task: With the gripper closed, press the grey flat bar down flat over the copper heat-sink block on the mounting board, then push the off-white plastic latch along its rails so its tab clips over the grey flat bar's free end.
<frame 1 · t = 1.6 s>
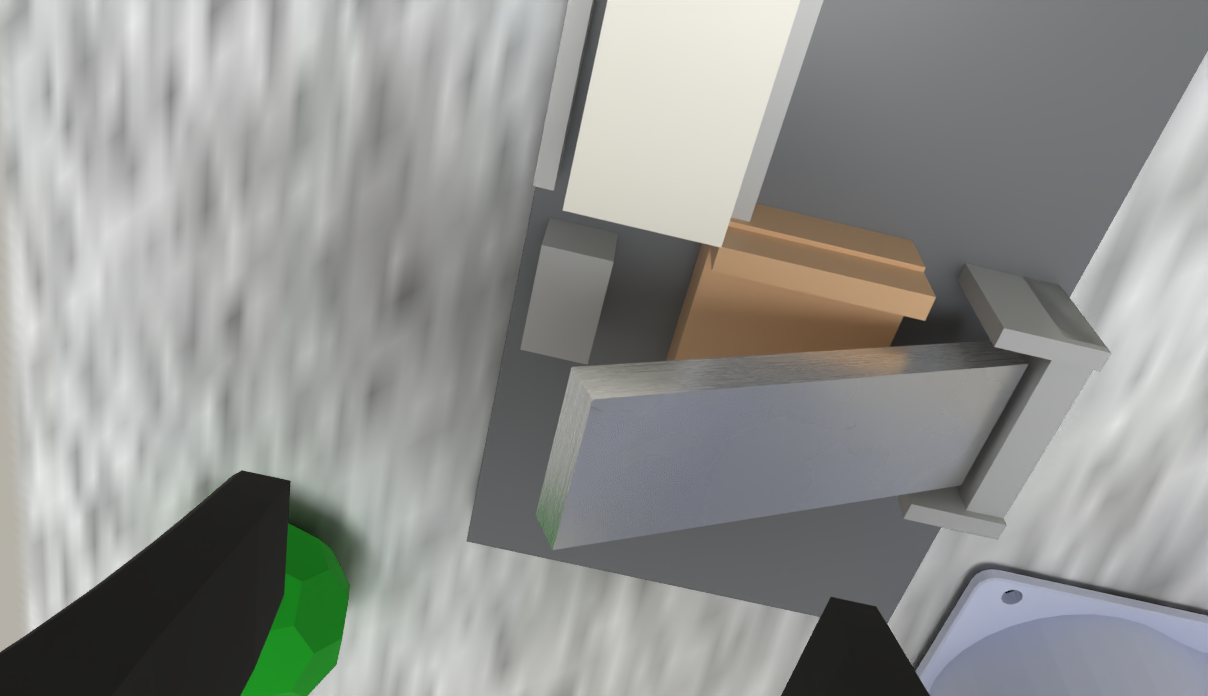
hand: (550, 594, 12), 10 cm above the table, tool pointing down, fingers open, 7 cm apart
grey flat bar: (796, 435, 16), point 5 cm above the table, hinge at 28.0°
latch: (686, 33, 15), point 3 cm above the table, slide at 0.0 cm
polyhedron: (286, 544, 26), on the table
mount board: (785, 257, 20), on the table
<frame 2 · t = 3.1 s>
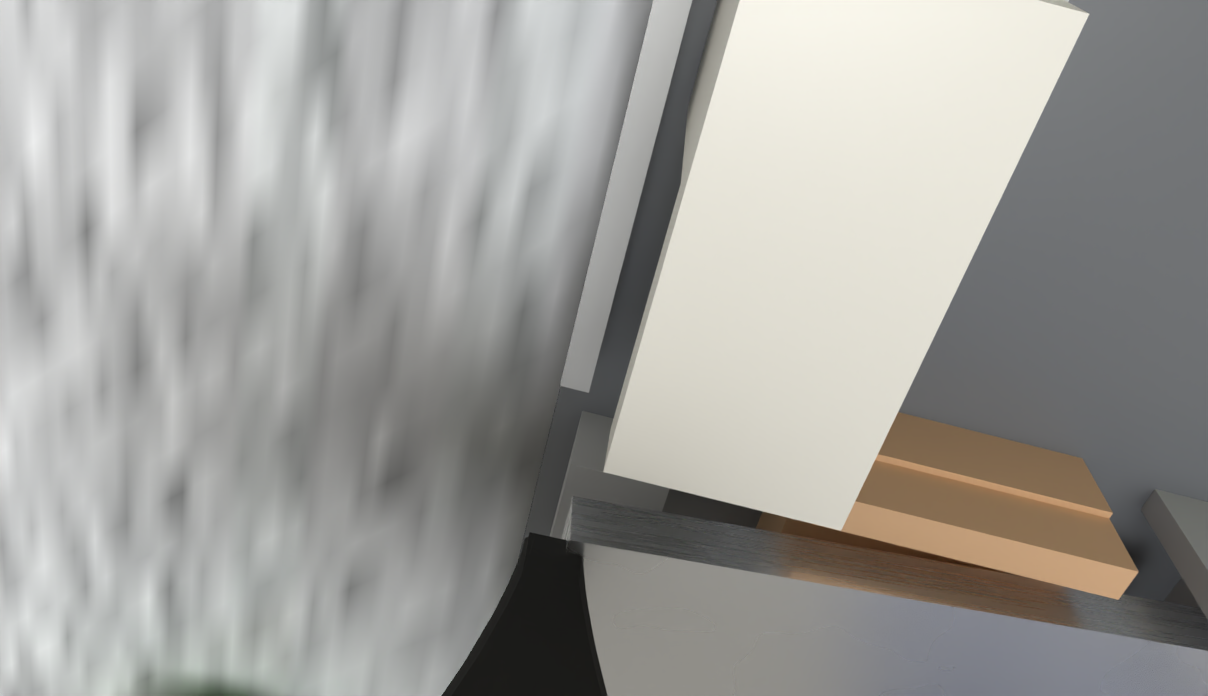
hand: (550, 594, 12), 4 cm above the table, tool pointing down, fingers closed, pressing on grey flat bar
grey flat bar: (874, 656, 13), point 3 cm above the table, hinge at 5.7°, touching gripper
latch: (793, 208, 10), point 3 cm above the table, slide at 0.0 cm
mount board: (894, 455, 15), on the table
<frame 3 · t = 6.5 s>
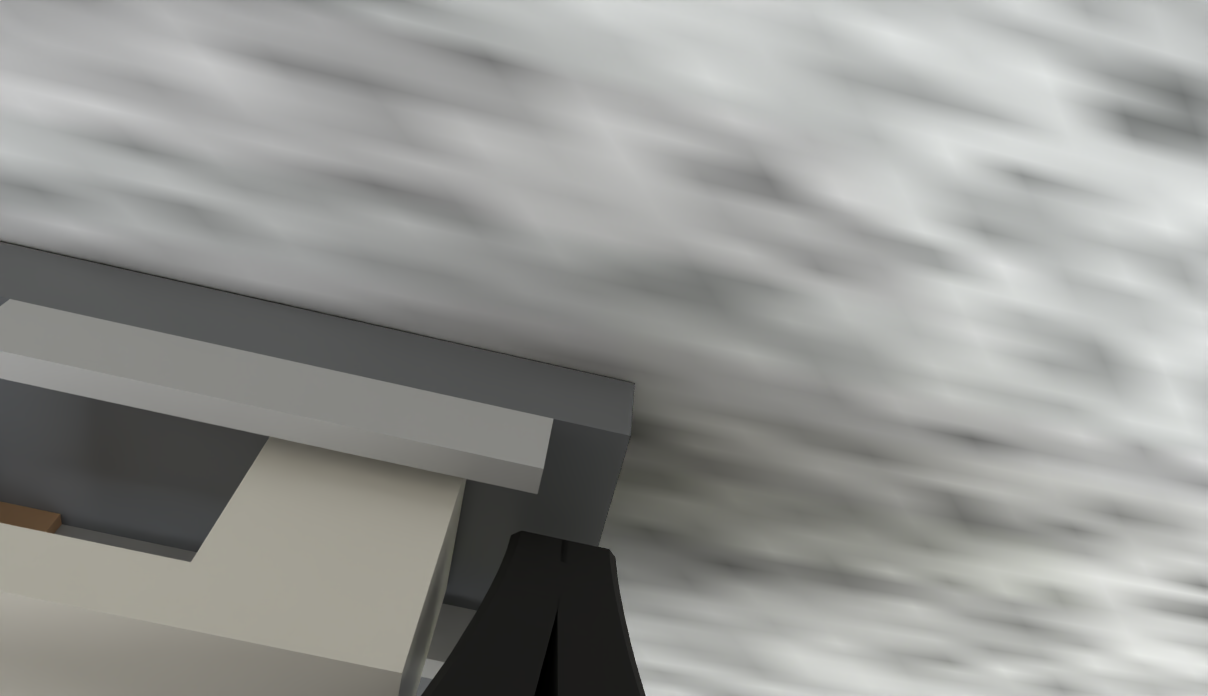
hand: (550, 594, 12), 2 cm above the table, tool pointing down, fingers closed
latch: (203, 577, 11), point 3 cm above the table, slide at 0.3 cm, touching gripper
mount board: (21, 535, 15), on the table
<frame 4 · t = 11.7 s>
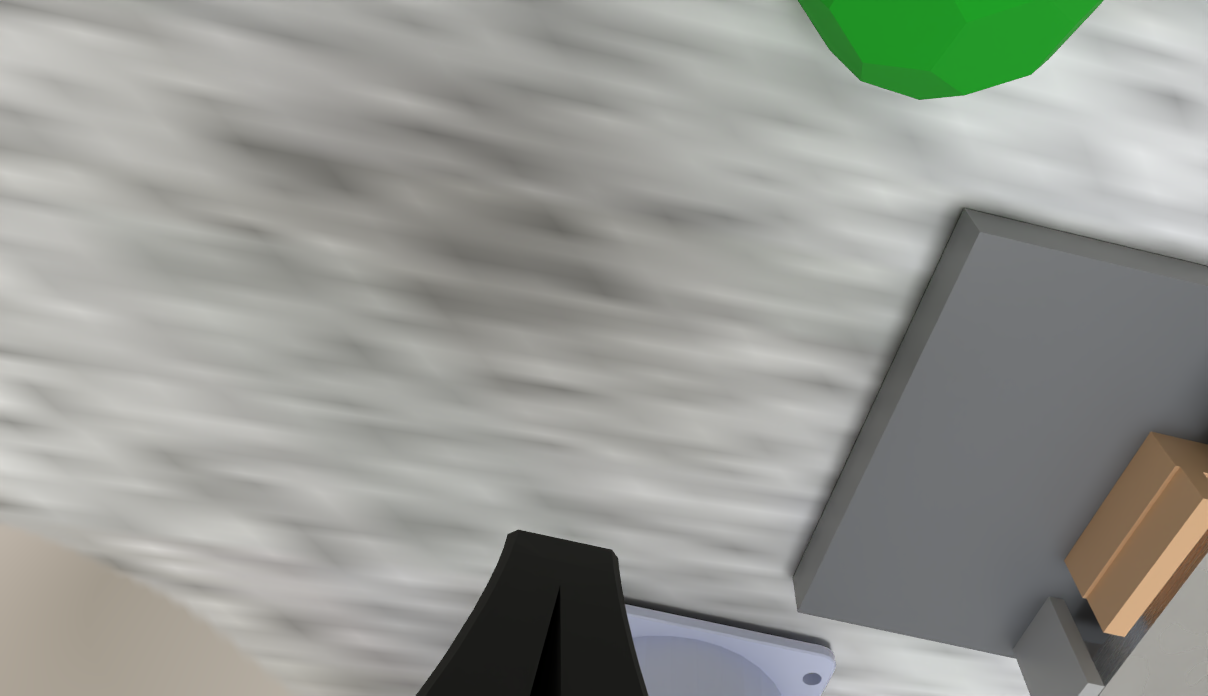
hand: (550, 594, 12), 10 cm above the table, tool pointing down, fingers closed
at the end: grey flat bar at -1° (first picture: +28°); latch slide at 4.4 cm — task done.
